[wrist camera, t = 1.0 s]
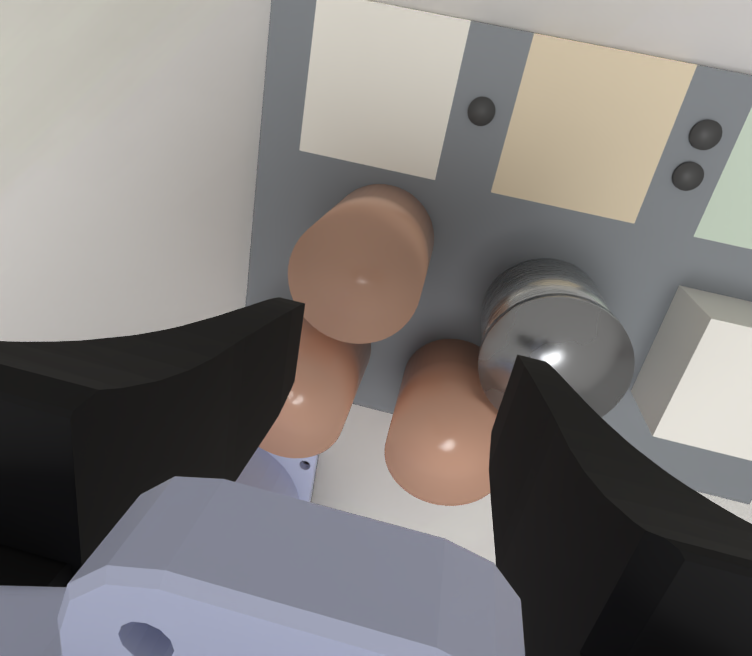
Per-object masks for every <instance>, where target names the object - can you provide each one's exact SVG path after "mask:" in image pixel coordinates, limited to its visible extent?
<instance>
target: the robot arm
mask: <svg viewBox="0 0 752 656" xmlns="http://www.w3.org/2000/svg"><path fill="white" fill-rule="evenodd" d="M304 309H305V303H301V302H297V301H293V300H289V299H285V298H280V297H277V298H272V299H268V300H265V301H262V302H258V303H255V304H252V305H249V306H247V307H244V308H241V309H237V310H234V311H231V312H228V313H225V314H222V315H219V316H216V317H212V318H209V319H205V320H202V321H198V322H194V323H191V324H187V325H184V326H180V327H176V328H171V329H166V330H162V331H156V332H150V333H145V334H139V335H132V336H124V337H114V338H104V339H93V340H82V341H60V342H6V341H0V656H752V524H750V523H749V522H747V521H745V520H743V519H741V518H739V517H737V516H736V515H734V514H732V513H731V512H729V511H727V510H725V509H724V508H722V507H720V506H719V505H717V504H715V503H714V502H712V501H710V500H709V499H707V498H706V497H704V496H702V495H701V494H699V493H698V492H696V491H695V490H693V489H692V488H690V487H688V486H687V485H685V484H684V483H682V482H681V481H679V480H678V479H676V478H675V477H673V476H672V475H671V474H669V473H668V472H666V471H665V470H663V469H662V468H661V467H659V466H658V465H657V464H656V463H654V462H653V461H652V460H650V459H649V458H648V457H646V456H645V455H644V454H643V453H641V452H640V451H639V450H637V449H636V448H635V447H634V446H632V445H631V444H630V443H629V442H628V441H627V440H625V439H624V438H623V437H622V436H621V435H620V434H619V433H618V432H616V431H615V430H614V429H613V428H612V427H611V426H610V425H609V424H608V423H607V422H605V421H604V420H603V419H602V418H601V417H600V416H599V415H598V414H597V413H596V412H595V411H594V410H593V409H592V408H591V407H590V406H589V405H588V404H587V403H586V402H585V401H584V400H583V399H582V398H581V396H580V395H579V394H578V393H577V392H576V391H575V390H574V389H573V388H572V387H571V386H570V385H569V384H568V383H567V382H566V381H565V379H564V378H563V377H562V376H561V375H560V374H559V373H558V372H557V371H556V370H555V369H554V368H553V367H552V366H551V365H550V364H548V363H547V362H546V361H542V360H538V359H534V358H530V357H525V356H521V355H517V357H516V360H515V363H514V366H513V369H512V372H511V375H510V378H509V381H508V384H507V387H506V390H505V392H504V395H503V398H502V401H501V404H500V407H499V410H498V413H497V416H496V419H495V422H494V425H493V428H492V431H491V443H490V457H489V480H490V494H491V506H492V519H493V531H494V543H495V555H496V565H495V564H494V563H493V562H491V561H489V560H487V559H485V558H483V557H481V556H479V555H477V554H475V553H473V552H471V551H469V550H467V549H465V548H463V547H461V546H459V545H457V544H455V543H453V542H451V541H449V540H447V539H445V538H441V537H437V536H433V535H430V534H426V533H422V532H419V531H415V530H411V529H407V528H404V527H400V526H396V525H393V524H389V523H385V522H382V521H378V520H374V519H370V518H367V517H363V516H359V515H356V514H352V513H348V512H344V511H341V510H337V509H333V508H330V507H326V506H322V505H319V504H315V503H311V496H312V490H313V484H314V478H315V472H316V467H317V461H318V455H315V456H312V457H308V458H286V457H281V456H278V455H274V454H272V453H269V452H267V451H265V450H263V449H261V448H260V447H259V445H260V444H261V442H262V441H263V439H264V438H265V436H266V435H267V433H268V432H269V430H270V429H271V427H272V426H273V424H274V422H275V421H276V419H277V418H278V416H279V414H280V412H281V410H282V408H283V406H284V404H285V402H286V400H287V397H288V395H289V393H290V391H291V389H292V386H293V384H294V382H295V375H296V368H297V360H298V353H299V346H300V338H301V331H302V324H303V316H304ZM302 461H307V462H308V463H309V464H310V465H306V464H304V463H303V462H302Z"/></svg>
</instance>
